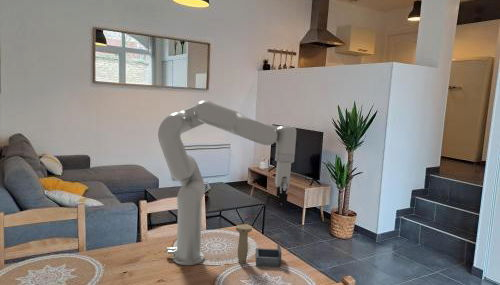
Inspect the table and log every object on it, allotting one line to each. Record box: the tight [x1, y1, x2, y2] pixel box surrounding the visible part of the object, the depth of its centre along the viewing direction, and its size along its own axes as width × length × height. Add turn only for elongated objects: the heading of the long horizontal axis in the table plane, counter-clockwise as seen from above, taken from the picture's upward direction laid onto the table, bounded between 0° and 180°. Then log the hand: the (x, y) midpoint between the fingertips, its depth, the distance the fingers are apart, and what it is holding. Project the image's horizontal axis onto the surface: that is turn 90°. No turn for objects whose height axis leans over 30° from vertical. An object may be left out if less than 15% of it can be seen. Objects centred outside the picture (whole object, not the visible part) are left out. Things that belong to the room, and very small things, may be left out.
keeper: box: [254, 243, 282, 268], centre depth 146 cm, size 10×9×6 cm
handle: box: [235, 224, 253, 265], centre depth 143 cm, size 5×6×15 cm
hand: (281, 199), depth 142 cm, fingers open, 9 cm apart
